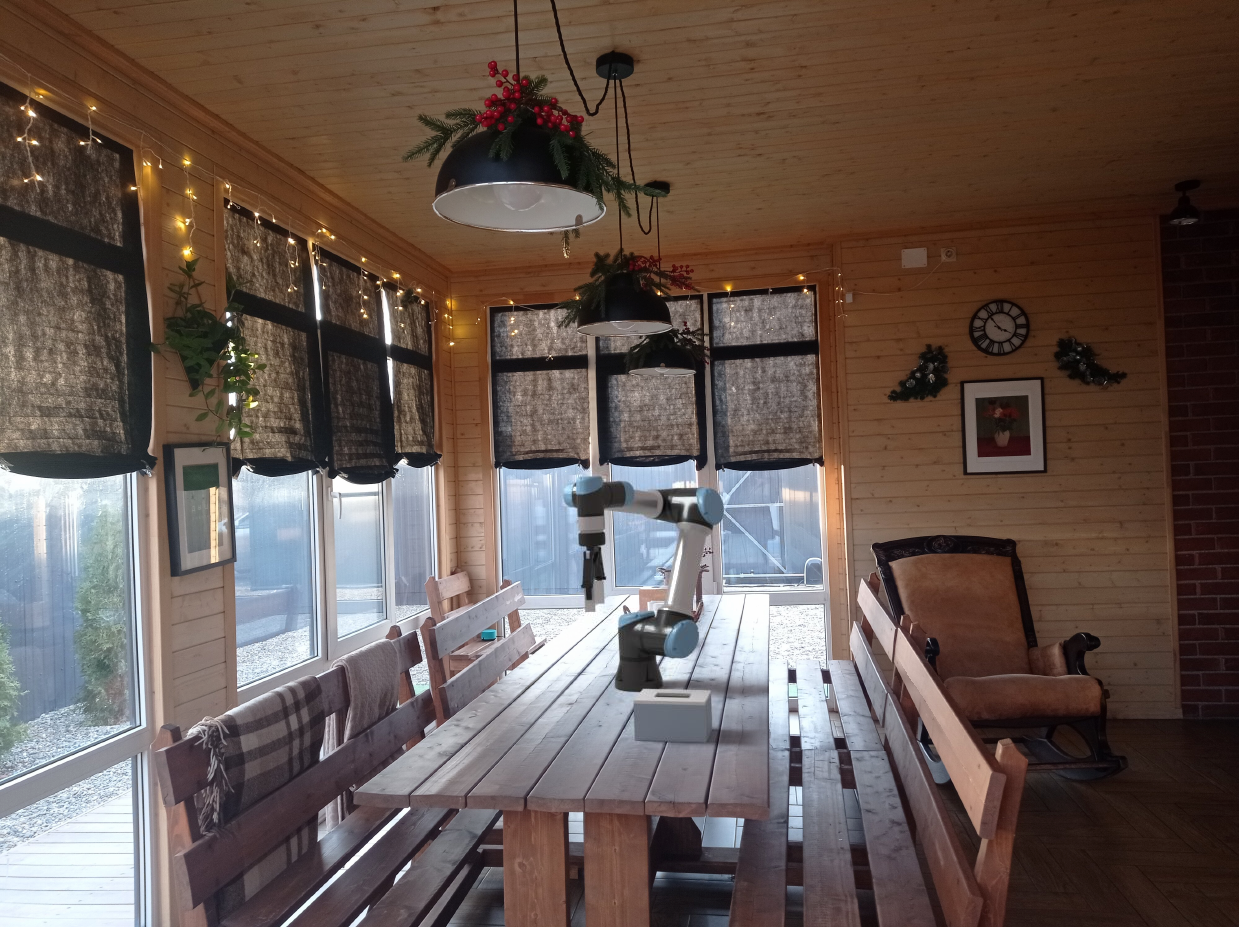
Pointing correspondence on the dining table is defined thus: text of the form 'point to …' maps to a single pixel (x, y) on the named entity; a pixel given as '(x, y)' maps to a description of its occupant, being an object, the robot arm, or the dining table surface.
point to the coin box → (673, 715)
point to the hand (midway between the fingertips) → (595, 607)
